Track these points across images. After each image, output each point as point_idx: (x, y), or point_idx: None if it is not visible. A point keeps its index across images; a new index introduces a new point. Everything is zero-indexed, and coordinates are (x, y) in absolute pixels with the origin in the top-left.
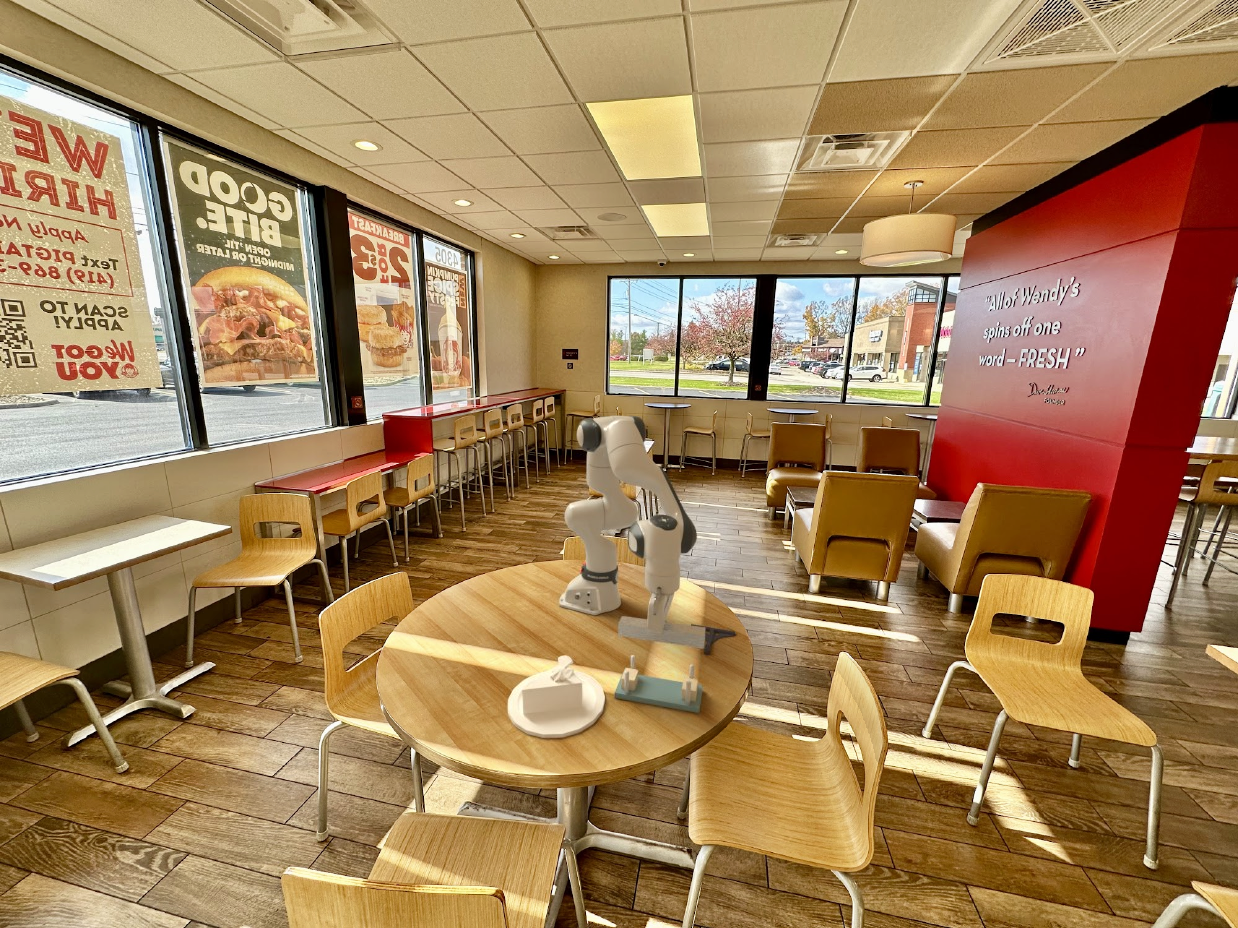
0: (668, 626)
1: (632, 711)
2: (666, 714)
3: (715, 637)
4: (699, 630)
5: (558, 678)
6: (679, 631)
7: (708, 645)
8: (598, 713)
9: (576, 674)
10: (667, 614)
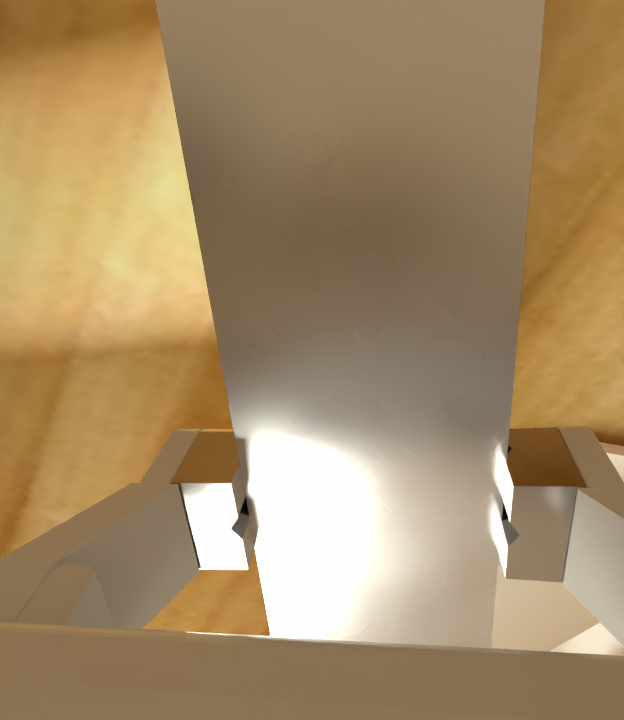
0: (362, 399)
1: (551, 320)
2: (542, 143)
3: None
4: None
5: None
6: (493, 165)
7: None
8: (620, 456)
9: None
10: (541, 705)
